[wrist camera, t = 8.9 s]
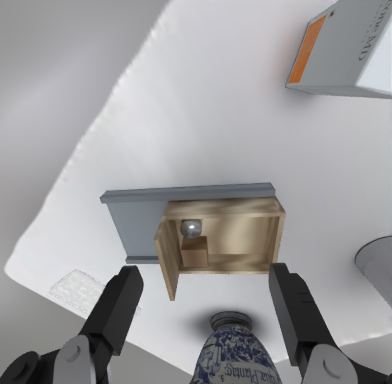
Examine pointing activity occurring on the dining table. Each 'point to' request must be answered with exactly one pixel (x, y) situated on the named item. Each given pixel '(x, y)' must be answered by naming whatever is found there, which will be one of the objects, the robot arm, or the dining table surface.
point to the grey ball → (191, 227)
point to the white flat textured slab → (80, 291)
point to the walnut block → (195, 251)
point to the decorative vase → (234, 354)
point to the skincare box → (347, 51)
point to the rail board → (162, 212)
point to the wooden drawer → (222, 236)
